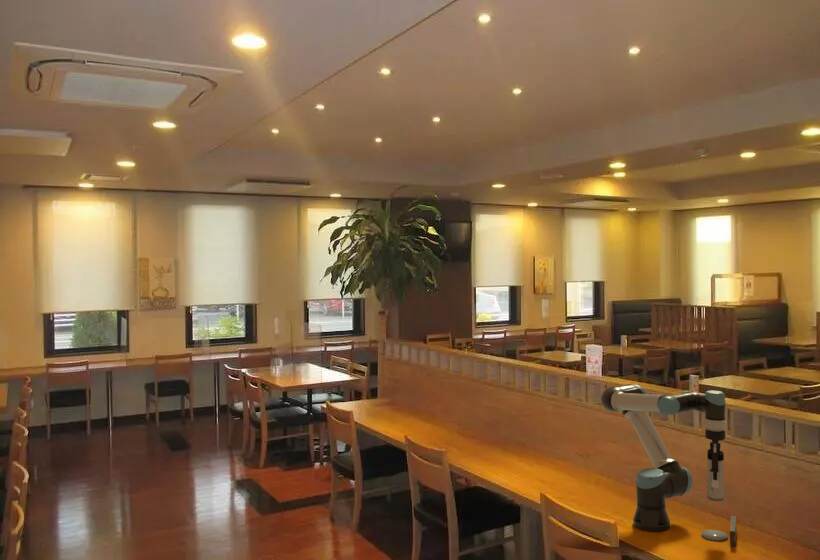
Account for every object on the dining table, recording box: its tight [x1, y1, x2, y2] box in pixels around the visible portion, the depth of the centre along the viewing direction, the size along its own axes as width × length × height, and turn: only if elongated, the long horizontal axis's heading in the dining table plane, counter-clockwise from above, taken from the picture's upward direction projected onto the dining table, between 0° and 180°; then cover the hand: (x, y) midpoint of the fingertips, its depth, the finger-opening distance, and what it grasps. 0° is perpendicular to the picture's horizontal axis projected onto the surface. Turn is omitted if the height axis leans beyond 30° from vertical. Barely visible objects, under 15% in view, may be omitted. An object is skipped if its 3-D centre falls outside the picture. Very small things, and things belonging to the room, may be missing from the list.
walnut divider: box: [729, 515, 737, 547], centre depth 283 cm, size 2×18×6 cm, turn 154°
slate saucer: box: [700, 529, 729, 542], centre depth 285 cm, size 10×10×1 cm
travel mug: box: [706, 448, 725, 502], centre depth 285 cm, size 6×7×20 cm
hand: (715, 484), depth 285 cm, fingers closed on travel mug, 6 cm apart
